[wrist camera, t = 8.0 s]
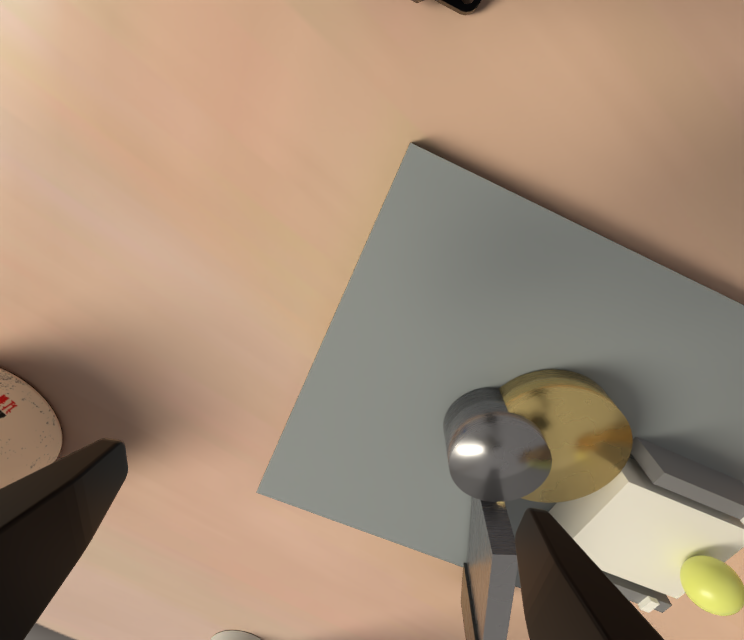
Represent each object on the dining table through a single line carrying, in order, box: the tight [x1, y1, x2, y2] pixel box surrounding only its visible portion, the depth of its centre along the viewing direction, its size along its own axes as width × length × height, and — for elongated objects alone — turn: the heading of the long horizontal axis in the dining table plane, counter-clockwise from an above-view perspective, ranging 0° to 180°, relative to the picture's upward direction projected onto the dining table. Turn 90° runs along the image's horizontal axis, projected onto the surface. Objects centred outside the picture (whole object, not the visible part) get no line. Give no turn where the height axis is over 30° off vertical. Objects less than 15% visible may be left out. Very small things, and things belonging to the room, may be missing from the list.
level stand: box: [256, 143, 744, 613], centre depth 22 cm, size 22×26×4 cm
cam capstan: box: [443, 369, 633, 640], centre depth 22 cm, size 9×18×5 cm, turn 3°
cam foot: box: [549, 458, 744, 616], centre depth 22 cm, size 6×8×5 cm
